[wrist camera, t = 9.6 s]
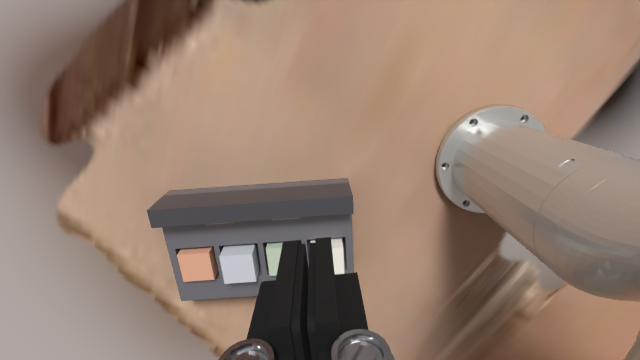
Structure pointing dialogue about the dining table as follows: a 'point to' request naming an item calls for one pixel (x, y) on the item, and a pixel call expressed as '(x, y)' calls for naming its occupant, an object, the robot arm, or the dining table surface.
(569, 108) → the dining table surface
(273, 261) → the key sage
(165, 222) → the keypad
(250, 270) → the key slate
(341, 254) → the key cream
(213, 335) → the dining table surface
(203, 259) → the key terracotta
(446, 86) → the dining table surface
